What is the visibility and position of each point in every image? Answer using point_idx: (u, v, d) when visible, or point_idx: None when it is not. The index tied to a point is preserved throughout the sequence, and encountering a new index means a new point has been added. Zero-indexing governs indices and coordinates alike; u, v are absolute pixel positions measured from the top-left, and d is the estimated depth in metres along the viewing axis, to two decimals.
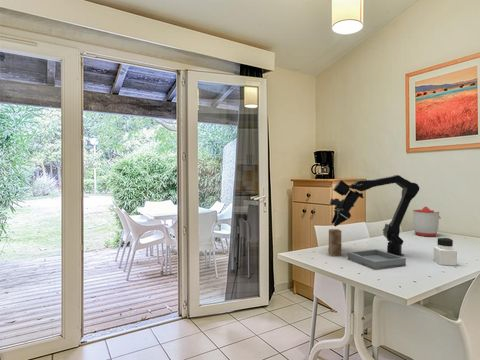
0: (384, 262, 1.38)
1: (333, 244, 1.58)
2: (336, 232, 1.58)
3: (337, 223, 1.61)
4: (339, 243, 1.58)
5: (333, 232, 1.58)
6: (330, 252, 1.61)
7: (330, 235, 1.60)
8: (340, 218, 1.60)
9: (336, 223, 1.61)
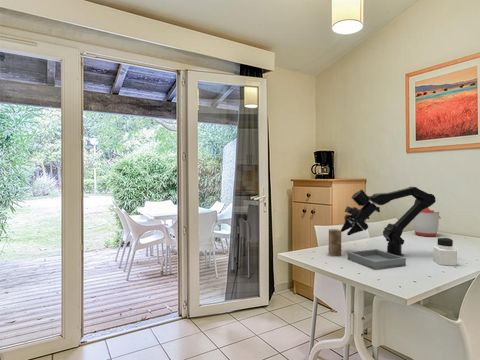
0: (384, 262, 1.38)
1: (333, 244, 1.58)
2: (336, 232, 1.58)
3: (351, 232, 1.56)
4: (339, 243, 1.58)
5: (333, 232, 1.58)
6: (330, 252, 1.61)
7: (330, 235, 1.60)
8: (355, 228, 1.55)
9: (350, 232, 1.56)
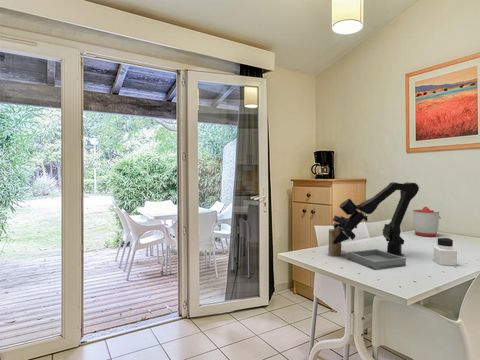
0: (384, 262, 1.38)
1: (333, 244, 1.58)
2: (336, 232, 1.58)
3: (337, 241, 1.57)
4: (339, 243, 1.58)
5: (333, 232, 1.58)
6: (330, 252, 1.61)
7: (330, 235, 1.60)
8: (341, 236, 1.57)
9: (336, 241, 1.57)
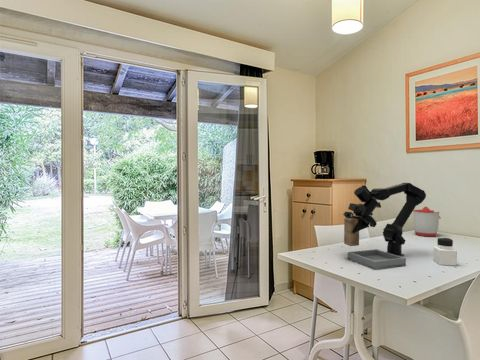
0: (384, 262, 1.38)
1: (352, 234, 1.50)
2: (354, 221, 1.50)
3: (356, 230, 1.50)
4: (357, 232, 1.51)
5: (352, 221, 1.50)
6: (347, 242, 1.52)
7: (348, 225, 1.51)
8: (360, 225, 1.50)
9: (356, 230, 1.50)
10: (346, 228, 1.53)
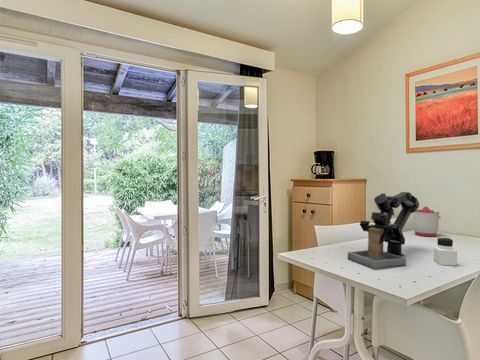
0: (384, 262, 1.38)
1: (379, 244, 1.44)
2: (381, 231, 1.45)
3: (383, 240, 1.45)
4: None
5: (379, 231, 1.44)
6: (373, 253, 1.46)
7: (375, 235, 1.45)
8: (386, 234, 1.46)
9: (382, 240, 1.44)
10: (372, 239, 1.46)
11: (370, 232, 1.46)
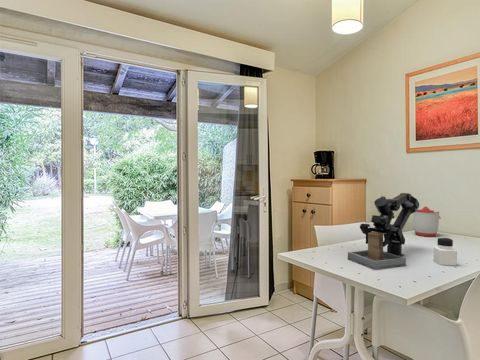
0: (384, 262, 1.38)
1: (379, 249, 1.44)
2: (380, 235, 1.45)
3: (386, 243, 1.44)
4: (382, 247, 1.46)
5: (379, 236, 1.44)
6: (373, 258, 1.46)
7: (374, 240, 1.45)
8: (388, 238, 1.45)
9: (385, 243, 1.44)
10: (371, 243, 1.46)
11: (369, 237, 1.47)
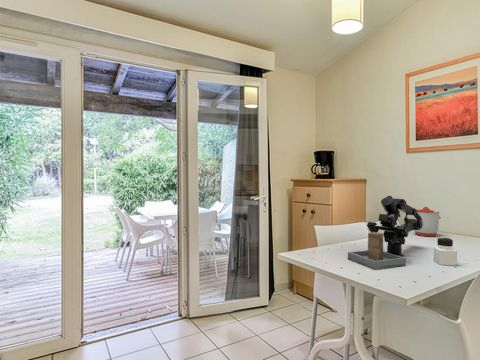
0: (384, 262, 1.38)
1: (379, 249, 1.44)
2: (380, 235, 1.45)
3: (394, 241, 1.48)
4: (382, 247, 1.46)
5: (379, 236, 1.44)
6: (373, 258, 1.46)
7: (374, 240, 1.45)
8: (397, 236, 1.49)
9: (393, 241, 1.48)
10: (371, 243, 1.46)
11: (369, 237, 1.47)
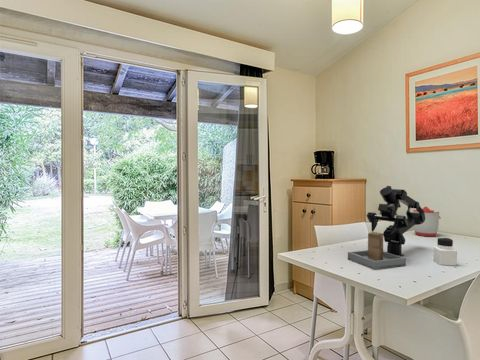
0: (384, 262, 1.38)
1: (379, 249, 1.44)
2: (380, 235, 1.45)
3: (394, 231, 1.48)
4: (382, 247, 1.46)
5: (379, 236, 1.44)
6: (373, 258, 1.46)
7: (374, 240, 1.45)
8: (396, 225, 1.49)
9: (393, 231, 1.48)
10: (371, 243, 1.46)
11: (369, 237, 1.47)
